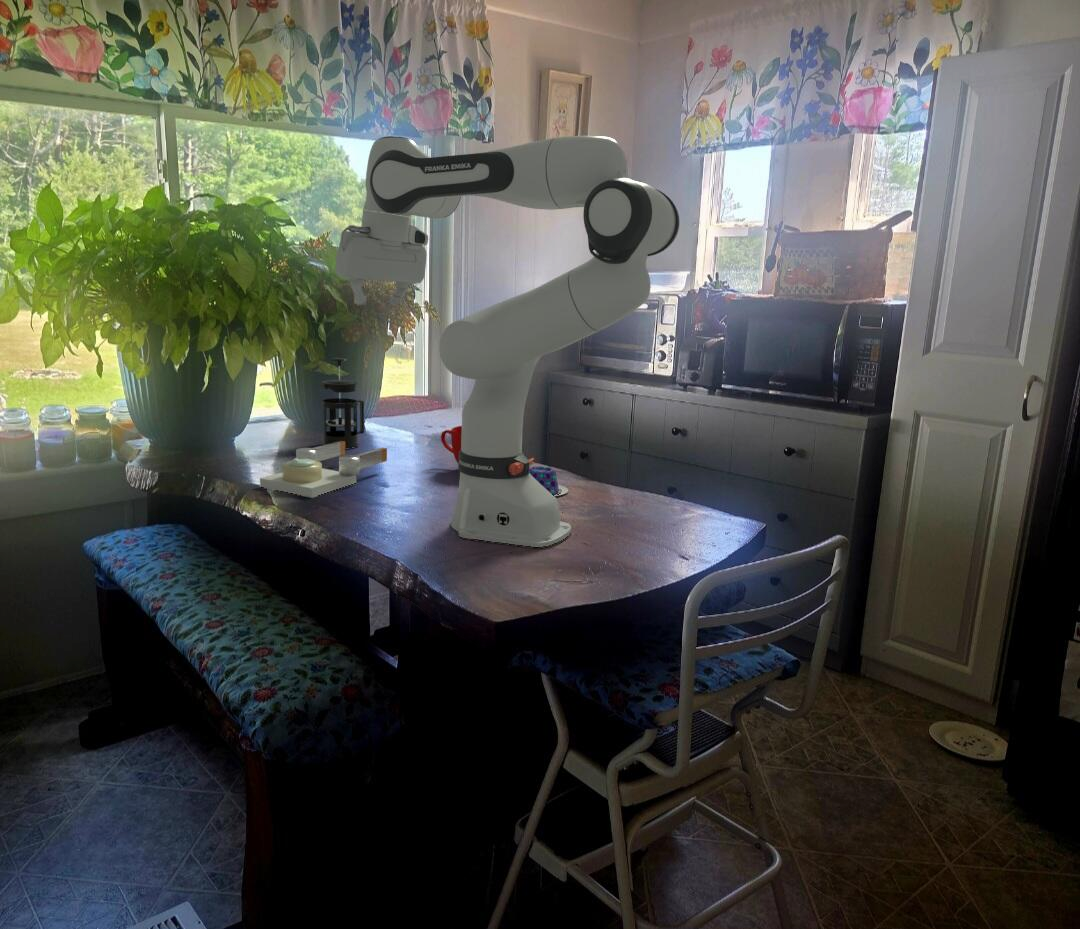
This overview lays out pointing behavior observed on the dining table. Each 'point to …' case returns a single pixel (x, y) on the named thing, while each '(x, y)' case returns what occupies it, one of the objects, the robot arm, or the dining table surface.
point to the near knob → (361, 461)
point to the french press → (334, 434)
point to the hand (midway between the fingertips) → (378, 304)
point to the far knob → (321, 451)
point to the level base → (309, 487)
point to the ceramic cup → (453, 440)
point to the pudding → (547, 479)
